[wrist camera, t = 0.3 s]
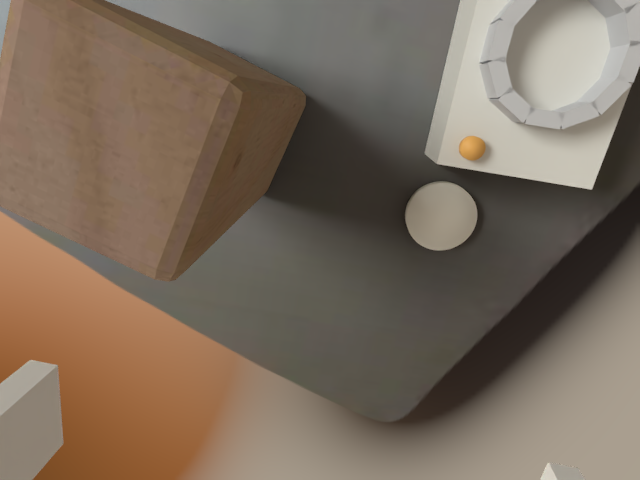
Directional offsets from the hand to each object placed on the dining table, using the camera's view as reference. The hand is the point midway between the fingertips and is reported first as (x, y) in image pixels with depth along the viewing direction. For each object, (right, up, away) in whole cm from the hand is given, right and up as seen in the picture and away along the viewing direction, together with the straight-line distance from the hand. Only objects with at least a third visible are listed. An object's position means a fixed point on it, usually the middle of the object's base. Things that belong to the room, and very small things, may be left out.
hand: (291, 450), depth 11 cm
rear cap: (+11, +8, +26) cm, 29 cm away
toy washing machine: (+16, +20, +21) cm, 33 cm away
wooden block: (-7, +16, +25) cm, 30 cm away
